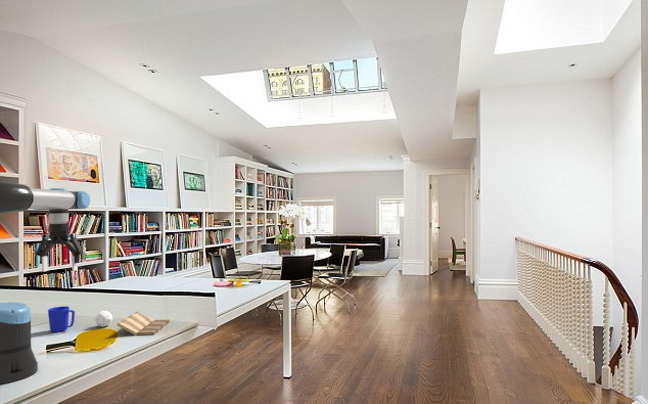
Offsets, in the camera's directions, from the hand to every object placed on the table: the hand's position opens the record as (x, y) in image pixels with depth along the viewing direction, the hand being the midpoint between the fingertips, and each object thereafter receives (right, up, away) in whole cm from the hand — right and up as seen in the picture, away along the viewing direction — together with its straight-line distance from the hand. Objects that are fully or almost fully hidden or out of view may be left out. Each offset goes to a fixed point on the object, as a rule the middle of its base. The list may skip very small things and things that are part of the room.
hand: (59, 270), depth 191 cm
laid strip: (+41, -26, +3) cm, 49 cm away
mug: (0, -28, +3) cm, 28 cm away
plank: (+33, -24, +3) cm, 41 cm away
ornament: (+15, -27, +8) cm, 32 cm away
